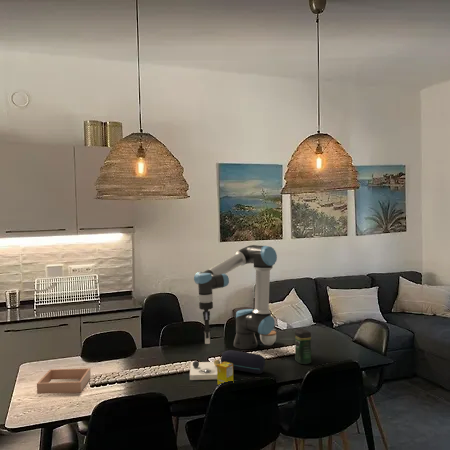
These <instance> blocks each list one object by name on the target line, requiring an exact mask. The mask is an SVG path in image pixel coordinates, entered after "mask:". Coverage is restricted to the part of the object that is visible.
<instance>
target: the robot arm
mask: <svg viewBox="0 0 450 450" xmlns="http://www.w3.org/2000/svg"><path fill="white" fill-rule="evenodd" d="M277 260H278V255H277V251H276V250H275V248H273V247H272V246H268V245H258V244H251V245H248V246H247V245H246V246H245V247H242V248H241V249H239V250H236V252H234V254H233V255H231V256H230V257H228V258H226V259H224V260H223V261H221V262H219V263H217V264H215V265H213V266H212V267H210V268H208V269H206V270H205V271H198V272H196V273H195V274H194V278H193V281H194V283H195V284H196V285H198V288H197V289H198V296H197V298H198V306H199V307H198V308H199V310H203V311H202V316H203V317H202V319H203V321H204V331H203V333H204V344H205V345H208V344H209V345H210V344H211V337H210V335H211V334H210V332H211V331H212V330H211V329H210V319H211V318H210V317H211V316H210V315H211V311H210V310H212V309H213V308H214V303H213V299H214V298H213V290H216V289H222V288H225V287H227V286H228V285H229V284H230V279H229V278H230V277H229V276H228V275H227V274H228V273H229V272H231V271H233V270H235V269H236V268H238V267H239V266H241V267H242V266H245V265H246V264H253V269H254V270H255V287H254V289H255V290H254V291H255V293H254V309H253V308H246V309H240V310H237V311H236V312H235V333H236V334H235V336H234V340H233V347H234V348H235V349H239V350H250V349H256V348H257V347H258V340H257V337H256V335H255V334H258V335H260V334H264V335H267V334H269V333H270V332H271V331H272V330H273V329H274V328H275V319H274V317H273V316H272V312H271V310H270V309H269V308H270V304H269V303H270V284H271V283H270V282H271V280H270V277H271V275H270V274H271V270H272V269H273V266H274V265H276V262H277ZM273 331H274V330H273Z"/></svg>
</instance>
